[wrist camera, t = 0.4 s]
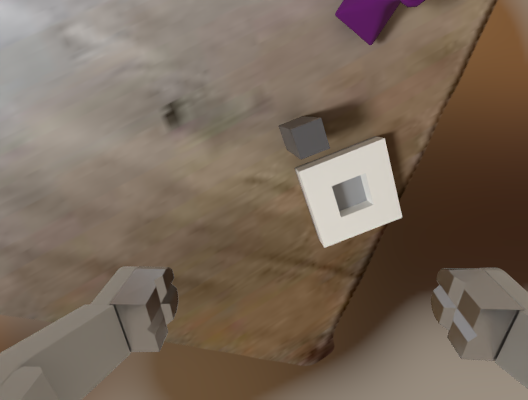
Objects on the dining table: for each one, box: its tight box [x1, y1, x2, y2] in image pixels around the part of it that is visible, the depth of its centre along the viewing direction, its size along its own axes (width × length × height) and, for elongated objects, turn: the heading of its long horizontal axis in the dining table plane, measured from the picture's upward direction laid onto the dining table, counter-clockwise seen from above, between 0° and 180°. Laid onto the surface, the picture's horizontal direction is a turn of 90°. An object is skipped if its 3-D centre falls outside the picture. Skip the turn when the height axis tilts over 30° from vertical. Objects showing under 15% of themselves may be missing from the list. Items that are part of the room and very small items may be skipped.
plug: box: [279, 116, 330, 159], centre depth 45 cm, size 4×4×11 cm
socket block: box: [295, 136, 402, 248], centre depth 53 cm, size 16×16×4 cm
